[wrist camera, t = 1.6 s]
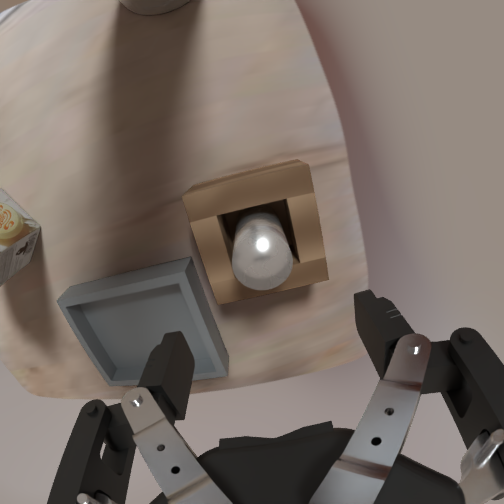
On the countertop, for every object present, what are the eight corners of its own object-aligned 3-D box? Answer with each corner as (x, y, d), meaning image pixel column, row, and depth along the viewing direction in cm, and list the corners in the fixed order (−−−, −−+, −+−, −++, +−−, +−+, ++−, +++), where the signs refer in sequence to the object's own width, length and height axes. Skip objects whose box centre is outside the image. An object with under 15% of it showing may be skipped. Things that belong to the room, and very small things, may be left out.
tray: (69, 286, 31) (56, 300, 28) (191, 256, 30) (184, 271, 27) (117, 369, 36) (109, 386, 33) (228, 356, 35) (227, 375, 32)
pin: (231, 208, 27) (224, 242, 19) (274, 198, 27) (286, 228, 18) (242, 247, 28) (240, 295, 20) (283, 238, 28) (297, 282, 20)
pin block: (194, 184, 27) (181, 196, 22) (297, 159, 26) (308, 164, 21) (222, 276, 31) (217, 304, 26) (315, 255, 30) (328, 279, 25)
